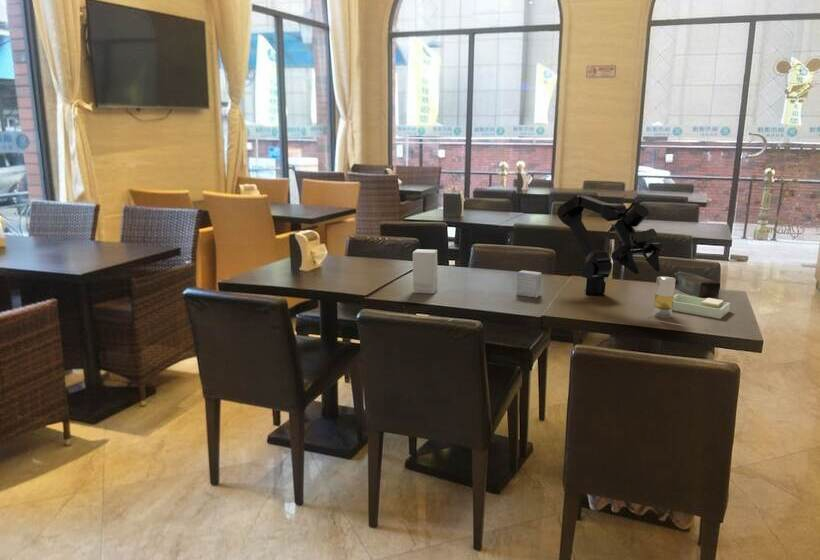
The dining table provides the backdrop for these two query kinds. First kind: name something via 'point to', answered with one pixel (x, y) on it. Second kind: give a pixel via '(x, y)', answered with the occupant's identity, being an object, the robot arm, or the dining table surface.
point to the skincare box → (425, 271)
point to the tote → (698, 306)
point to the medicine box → (529, 283)
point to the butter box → (713, 303)
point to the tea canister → (664, 297)
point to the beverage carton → (696, 285)
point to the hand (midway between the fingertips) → (648, 272)
